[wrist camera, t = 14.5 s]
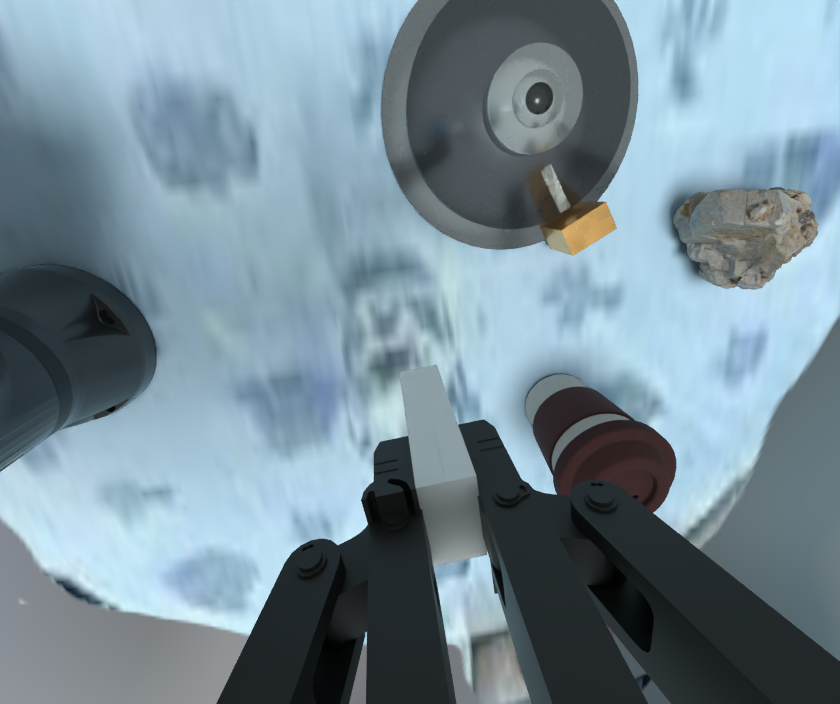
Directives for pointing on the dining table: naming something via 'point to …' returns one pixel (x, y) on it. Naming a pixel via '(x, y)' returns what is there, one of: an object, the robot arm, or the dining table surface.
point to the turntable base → (404, 162)
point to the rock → (745, 233)
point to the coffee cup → (597, 441)
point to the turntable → (466, 135)
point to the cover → (532, 100)
